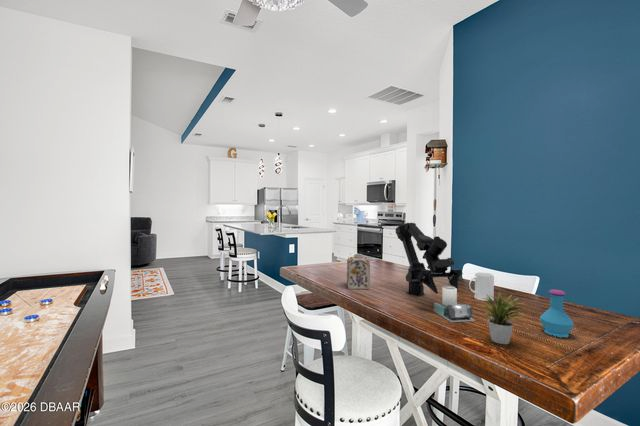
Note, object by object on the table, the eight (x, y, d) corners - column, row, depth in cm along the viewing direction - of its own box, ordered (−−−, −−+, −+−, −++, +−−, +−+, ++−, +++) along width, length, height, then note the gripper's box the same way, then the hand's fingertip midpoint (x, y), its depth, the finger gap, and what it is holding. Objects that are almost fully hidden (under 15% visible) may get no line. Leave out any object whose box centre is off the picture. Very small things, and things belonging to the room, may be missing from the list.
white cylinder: (438, 310, 124) (438, 285, 124) (449, 309, 126) (449, 284, 126) (449, 315, 119) (449, 289, 119) (460, 313, 121) (460, 287, 121)
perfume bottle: (575, 341, 98) (576, 296, 97) (541, 335, 102) (542, 291, 102) (570, 332, 105) (571, 289, 105) (538, 326, 110) (539, 286, 110)
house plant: (505, 355, 87) (506, 300, 87) (465, 337, 100) (466, 288, 100) (535, 347, 93) (536, 295, 93) (494, 330, 106) (495, 284, 106)
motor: (432, 310, 126) (433, 297, 126) (453, 309, 128) (453, 296, 128) (451, 322, 113) (452, 307, 113) (474, 321, 115) (474, 306, 114)
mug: (472, 300, 140) (472, 275, 140) (464, 295, 149) (464, 271, 149) (497, 301, 140) (498, 276, 140) (488, 296, 148) (488, 272, 148)
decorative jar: (370, 289, 158) (370, 256, 158) (348, 289, 158) (348, 255, 158) (366, 284, 170) (367, 252, 170) (346, 283, 170) (347, 252, 170)
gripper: (421, 251, 127) (434, 283, 117) (460, 250, 130) (477, 282, 120) (412, 265, 135) (423, 297, 125) (449, 265, 138) (463, 295, 128)
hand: (447, 292), depth 124 cm, fingers open, 9 cm apart
